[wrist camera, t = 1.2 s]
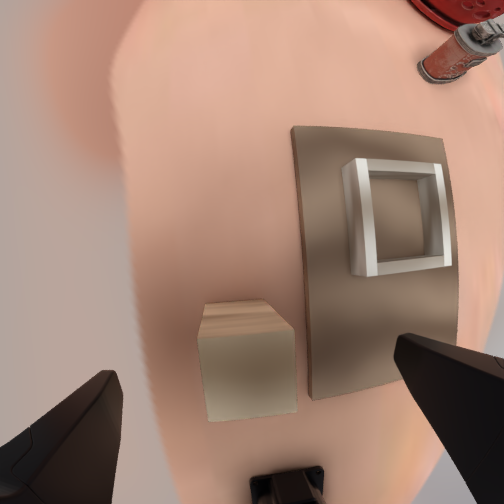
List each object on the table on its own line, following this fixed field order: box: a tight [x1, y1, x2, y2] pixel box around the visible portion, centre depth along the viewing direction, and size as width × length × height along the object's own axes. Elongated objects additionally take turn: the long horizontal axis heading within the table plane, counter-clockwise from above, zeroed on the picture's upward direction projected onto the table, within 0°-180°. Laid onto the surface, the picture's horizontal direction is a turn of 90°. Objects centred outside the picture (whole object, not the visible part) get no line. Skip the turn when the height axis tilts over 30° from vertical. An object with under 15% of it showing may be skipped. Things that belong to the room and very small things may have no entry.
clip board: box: [291, 126, 459, 401], centre depth 21 cm, size 20×14×4 cm
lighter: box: [417, 19, 504, 84], centre depth 19 cm, size 8×3×10 cm, turn 118°
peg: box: [197, 299, 298, 422], centre depth 17 cm, size 4×4×9 cm
